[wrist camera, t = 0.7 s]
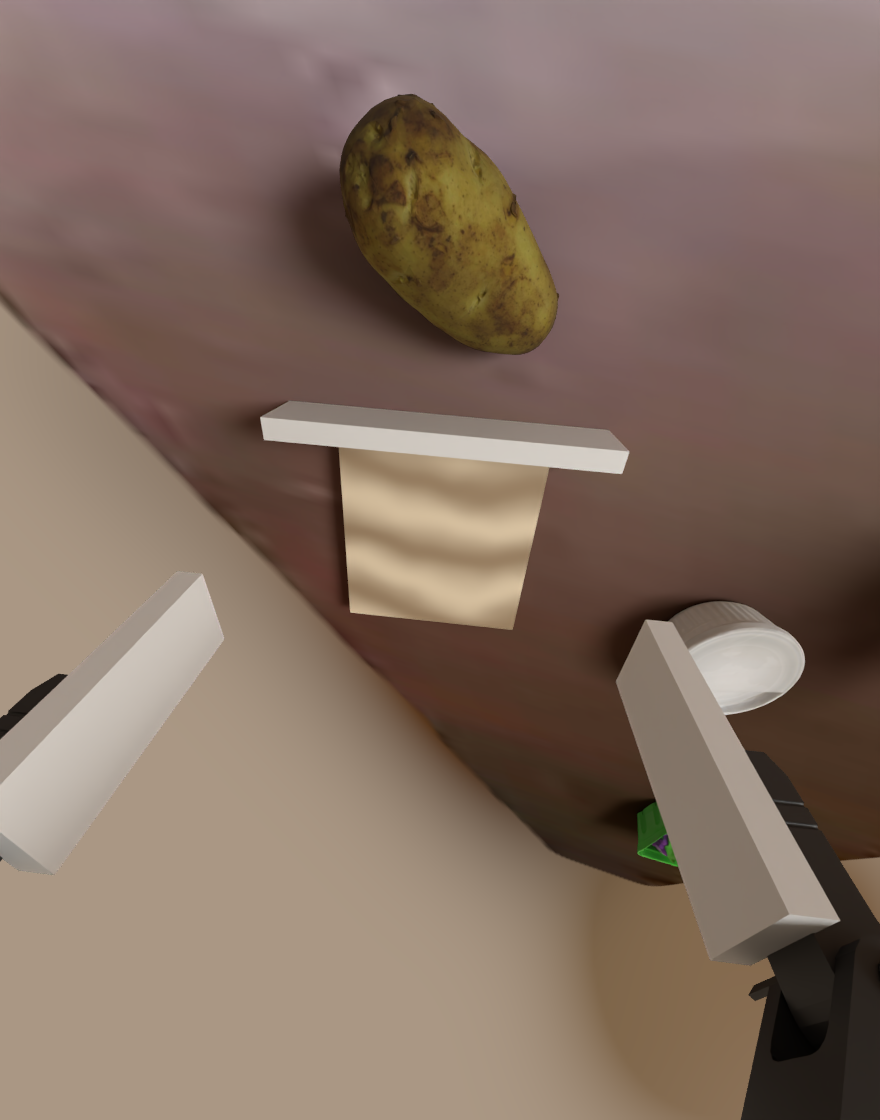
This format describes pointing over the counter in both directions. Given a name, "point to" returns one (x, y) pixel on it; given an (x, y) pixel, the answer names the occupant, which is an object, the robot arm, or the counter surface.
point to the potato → (445, 228)
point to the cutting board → (438, 535)
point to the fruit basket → (654, 836)
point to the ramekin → (740, 654)
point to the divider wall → (446, 436)
